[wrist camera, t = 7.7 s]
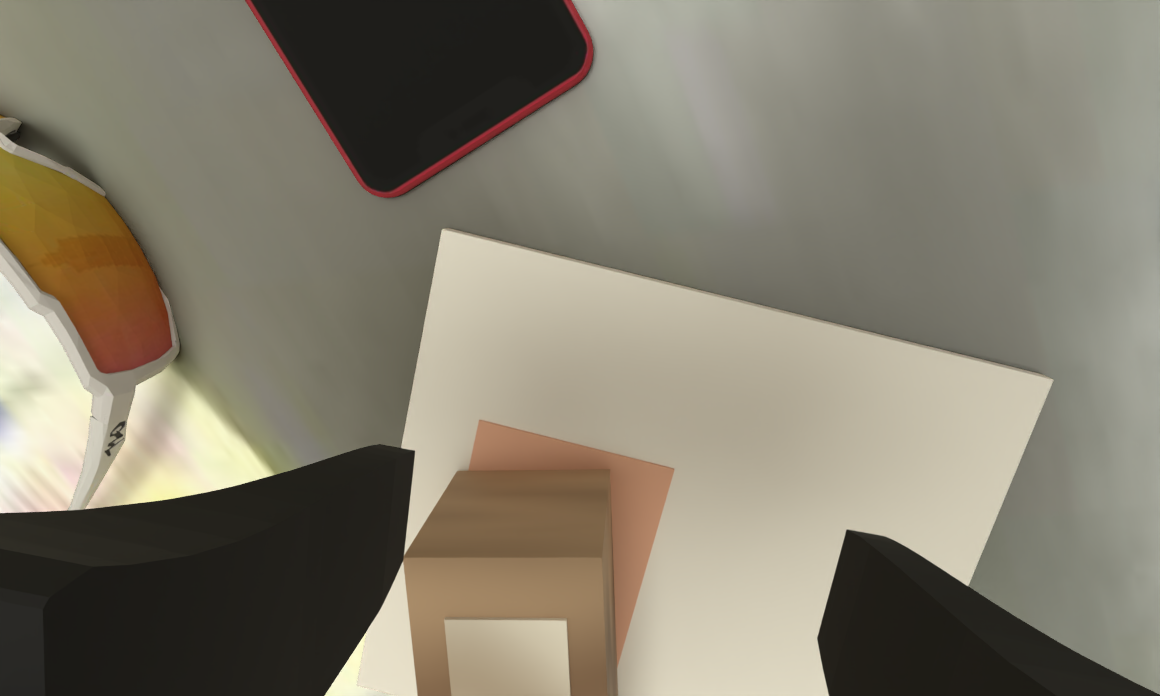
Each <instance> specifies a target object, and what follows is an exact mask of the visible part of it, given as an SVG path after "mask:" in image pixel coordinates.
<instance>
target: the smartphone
mask: <svg viewBox="0 0 1160 696" xmlns="http://www.w3.org/2000/svg"><path fill="white" fill-rule="evenodd" d="M245 1H246V2H247V4H248V6H249V7H250V9H251V11H252V12H253V14H254V15H255V17H256V19H257V20H258V22H259V23H260V25H261V27H262V28H263V30H264V31H265V33H266V35H267V36H268V38H269V39H270V41H271V43H272V44H273V46H274V47H275V49H276V51H277V52H278V54H279V56H280V57H281V59H282V60H283V62H284V64H285V65H286V67H287V68H288V70H289V72H290V73H291V75H292V76H293V78H294V80H295V81H296V83H297V84H298V86H299V88H300V89H301V91H302V92H303V94H304V96H305V97H306V99H307V101H308V102H309V104H310V105H311V107H312V109H313V110H314V112H315V113H316V115H317V117H318V118H319V120H320V121H321V123H322V125H323V126H324V128H325V129H326V131H327V133H328V134H329V136H330V137H331V139H332V141H333V142H334V144H335V146H336V147H337V149H338V150H339V152H340V154H341V155H342V157H343V158H344V160H345V162H346V163H347V165H348V166H349V168H350V170H351V171H352V173H353V174H354V176H355V178H356V179H357V181H358V182H359V183H360V185H361V186H362V187H363V188H364V189H365V190H366V191H368V192H369V193H371V194H373V195H376V196H378V197H384V198H388V197H397V196H400V195H402V194H404V193H406V192H408V191H409V190H411V189H413V188H414V187H416V186H417V185H419V184H420V183H422V182H424V181H425V180H427V179H428V178H430V177H431V176H433V175H435V174H436V173H438V172H439V171H441V170H443V169H444V168H446V167H447V166H449V165H450V164H452V163H454V162H455V161H457V160H458V159H460V158H461V157H463V156H465V155H466V154H468V153H469V152H471V151H472V150H474V149H476V148H477V147H479V146H480V145H482V144H484V143H485V142H487V141H488V140H490V139H491V138H493V137H495V136H496V135H498V134H499V133H501V132H502V131H504V130H506V129H507V128H509V127H510V126H512V125H513V124H515V123H517V122H518V121H520V120H521V119H523V118H524V117H526V116H528V115H529V114H531V113H532V112H534V111H536V110H537V109H539V108H540V107H542V106H543V105H545V104H547V103H548V102H550V101H551V100H553V99H554V98H556V97H558V96H559V95H561V94H562V93H564V92H565V91H567V90H569V89H570V88H572V87H573V86H575V85H576V84H578V83H579V82H580V81H581V80H582V79H583V78H584V77H585V76H586V74H587V73H588V71H589V69H590V67H591V64H592V60H593V44H592V40H591V37H590V35H589V32H588V30H587V28H586V27H585V25H584V23H583V21H582V19H581V18H580V16H579V14H578V12H577V10H576V8H575V7H574V5H573V3H572V1H571V0H245Z"/></svg>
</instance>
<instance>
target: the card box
mask: <svg viewBox="0 0 1160 696" xmlns="http://www.w3.org/2000/svg"><path fill="white" fill-rule="evenodd" d="M403 565H404V574H405V583H406V593H407V602H408V611H409V621H410V630H411V639H412V648H413V658H414V667H415V676H416V686H417V695H418V696H618V678H617V651H616V623H615V595H614V567H613V539H612V511H611V483H610V469H590V470H496V471H457V472H456V473H455V475H454V477H453V478H452V480H451V481H450V483H449V485H448V486H447V488H446V489H445V491H444V493H443V494H442V496H441V497H440V499H439V501H438V502H437V504H436V505H435V507H434V509H433V510H432V512H431V513H430V515H429V516H428V518H427V520H426V521H425V523H424V524H423V526H422V528H421V529H420V531H419V532H418V534H417V536H416V537H415V539H414V540H413V542H412V544H411V545H410V547H409V548H408V550H407V552H406V553H405V555H404V560H403Z"/></svg>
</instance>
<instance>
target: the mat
mask: <svg viewBox="0 0 1160 696" xmlns="http://www.w3.org/2000/svg"><path fill="white" fill-rule="evenodd" d="M1052 382H1053V379H1051V378H1049V377H1047V376H1044V375H1042V374H1039V373H1035V372H1031V371H1027V370H1023V369H1019V368H1015V367H1011V366H1007V365H1003V364H998V363H994V362H990V361H986V360H982V359H978V358H974V357H970V356H966V355H962V354H958V353H954V352H950V351H946V350H942V349H938V348H934V347H929V346H925V345H921V344H917V343H913V342H909V341H905V340H901V339H897V338H893V337H889V336H885V335H881V334H877V333H873V332H869V331H864V330H860V329H856V328H852V327H848V326H844V325H840V324H836V323H832V322H828V321H824V320H820V319H816V318H812V317H808V316H804V315H800V314H795V313H791V312H787V311H783V310H779V309H775V308H771V307H767V306H763V305H759V304H755V303H751V302H747V301H743V300H739V299H735V298H730V297H726V296H722V295H718V294H714V293H710V292H706V291H702V290H698V289H694V288H690V287H686V286H682V285H678V284H674V283H670V282H666V281H661V280H657V279H653V278H649V277H645V276H641V275H637V274H633V273H629V272H625V271H621V270H617V269H613V268H609V267H605V266H601V265H596V264H592V263H588V262H584V261H580V260H576V259H572V258H568V257H564V256H560V255H556V254H552V253H548V252H544V251H540V250H536V249H532V248H527V247H523V246H519V245H515V244H511V243H507V242H503V241H499V240H495V239H491V238H487V237H483V236H479V235H475V234H471V233H467V232H462V231H458V230H454V229H450V228H445V229H442V232H441V238H440V243H439V248H438V254H437V259H436V264H435V270H434V275H433V280H432V286H431V291H430V296H429V302H428V307H427V312H426V318H425V323H424V328H423V334H422V339H421V344H420V350H419V355H418V361H417V366H416V371H415V377H414V382H413V387H412V393H411V398H410V403H409V409H408V414H407V419H406V425H405V430H404V435H403V441H402V446H401V448H403V449H408V450H414V451H415V459H414V468H413V477H412V486H411V495H410V505H409V514H408V523H407V532H406V541H405V551H404V555H405V553H406V552H407V550H408V548H409V547H410V545H411V544H412V542H413V540H414V539H415V537H416V536H417V534H418V532H419V531H420V529H421V528H422V526H423V524H424V523H425V521H426V520H427V518H428V516H429V515H430V513H431V512H432V510H433V509H434V507H435V505H436V504H437V502H438V501H439V499H440V497H441V496H442V494H443V493H444V491H445V489H446V488H447V486H448V485H449V483H450V481H451V480H452V478H453V477H454V475H455V473H456V472H457V471H496V470H590V469H610V483H611V511H612V539H613V567H614V595H615V623H616V651H617V678H618V696H829V694H828V689H827V685H826V681H825V676H824V672H823V667H822V662H821V657H820V651H819V646H818V641H817V637H818V633H819V629H820V626H821V622H822V618H823V614H824V611H825V607H826V603H827V600H828V596H829V592H830V589H831V585H832V581H833V578H834V574H835V570H836V567H837V563H838V559H839V556H840V552H841V548H842V545H843V541H844V537H845V533H846V530H847V529H848V530H854V531H859V532H865V533H870V534H876V535H881V536H885V537H888V538H890V539H892V540H895V541H896V542H898V543H900V544H902V545H904V546H906V547H907V548H909V549H911V550H912V551H914V552H916V553H917V554H919V555H921V556H922V557H924V558H925V559H927V560H928V561H930V562H932V563H933V564H935V565H936V566H938V567H939V568H941V569H942V570H944V571H945V572H947V573H948V574H950V575H951V576H953V577H955V578H956V579H958V580H959V581H961V582H962V583H964V584H965V585H967V586H968V585H969V583H970V581H971V578H972V576H973V573H974V571H975V568H976V566H977V564H978V561H979V559H980V556H981V554H982V552H983V549H984V547H985V544H986V542H987V539H988V537H989V535H990V532H991V530H992V527H993V525H994V523H995V520H996V518H997V515H998V513H999V510H1000V508H1001V506H1002V503H1003V501H1004V498H1005V496H1006V494H1007V491H1008V489H1009V486H1010V484H1011V482H1012V479H1013V477H1014V474H1015V472H1016V469H1017V467H1018V465H1019V462H1020V460H1021V457H1022V455H1023V453H1024V450H1025V448H1026V445H1027V443H1028V440H1029V438H1030V436H1031V433H1032V431H1033V428H1034V426H1035V424H1036V421H1037V419H1038V416H1039V414H1040V411H1041V409H1042V407H1043V404H1044V402H1045V399H1046V397H1047V395H1048V392H1049V390H1050V387H1051V385H1052ZM357 686H360V687H363V688H367V689H371V690H375V691H379V692H383V693H386V694H390V695H394V696H418V695H417V686H416V676H415V667H414V658H413V648H412V639H411V630H410V621H409V611H408V602H407V593H406V583H405V574H404V565H403V562H402V564H401V567H400V569H399V571H398V573H397V576H396V578H395V580H394V582H393V584H392V587H391V589H390V591H389V593H388V595H387V597H386V599H385V601H384V603H383V605H382V607H381V609H380V611H379V612H378V614H377V616H376V617H375V619H374V620H373V622H372V624H371V625H370V627H369V628H368V630H367V633H366V638H365V643H364V649H363V654H362V659H361V665H360V670H359V675H358V681H357Z"/></svg>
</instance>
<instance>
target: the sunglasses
mask: <svg viewBox="0 0 1160 696" xmlns="http://www.w3.org/2000/svg"><path fill="white" fill-rule="evenodd" d="M20 125H21V121H19V120H17V119H15V118H9V117H8V118H5V117H3V116H1V115H0V272H1V273H2V274H3V275H4V276H5V278H6V279H7V280H8V281H9V282H10V284H11V285H12V286H13V287H14V289H15V290H16V291H17V293H18V294H19V296H20V297H21V298H22V300H23V301H24V302H25V304H26V305H27V307H28V308H29V309H30V310H32V311H34V312H36V313H38V314H40V315H42V316H44V318H45V319H46V321H47V322H48V324H49V326H50V327H51V329H52V330H53V332H54V334H55V335H56V337H57V338H58V340H59V341H60V343H61V345H62V346H63V348H64V350H65V352H66V354H67V356H68V358H69V360H70V362H71V364H72V366H73V368H74V370H75V372H76V373H77V375H78V377H79V379H80V381H81V383H82V385H83V387H84V389H86V390H87V391H89V392H90V393H92V394H93V398H92V409H91V413H92V416H90V426H89V437H88V442H87V447H86V452H85V458H84V463H83V468H82V472H81V475H80V478H79V481H78V484H77V487H76V490H75V493H74V496H73V499H72V502H71V505H70V507H69V508H68V510H83V509H85V508H86V506H87V505H88V503H89V501H90V500H91V498H92V496H93V495H94V493H95V491H96V490H97V488H98V486H99V484H100V483H101V481H102V479H103V478H104V476H105V474H106V473H107V471H108V469H109V467H110V466H111V464H112V462H113V460H114V459H115V457H116V455H117V454H118V452H119V450H120V448H121V447H122V445H123V443H124V441H125V435H126V425H127V419H128V415H129V412H130V408H131V404H132V401H133V397H134V393H135V387H136V385H138V384H140V383H141V382H143V381H145V380H147V379H149V378H151V377H153V376H154V375H156V374H158V373H160V372H162V371H163V370H164V369H165V368H166V367H167V366H168V365H169V364H170V363H171V362H172V361H173V360H174V359H175V358H176V356H177V354H178V353H179V348H180V342H179V337H178V333H177V328H176V325H175V321H174V318H173V314H172V311H171V307H170V304H169V300H168V299H167V297H166V296H165V294H164V293H163V291H162V290H161V289H160V287H159V285H158V282H157V280H156V277H155V275H154V273H153V271H152V269H151V267H150V265H149V264H148V262H147V260H146V258H145V256H144V254H143V252H142V250H141V248H140V246H139V245H138V243H137V241H136V240H135V238H134V237H133V235H132V234H131V232H130V230H129V229H128V227H127V226H126V224H125V223H124V221H123V220H122V219H121V217H120V216H119V215H118V214H117V212H116V211H115V210H114V208H113V207H112V206H111V204H110V203H109V202H108V201H107V199H106V198H105V195H106V192H105V191H104V190H103V189H102V188H101V187H100V186H98V185H97V184H95V183H94V182H92V181H90V180H89V179H87V178H86V177H84V176H82V175H81V174H79V173H78V172H76V171H75V170H73V169H71V168H70V167H64V166H62V165H61V164H59V163H57V162H55V161H53V160H51V159H49V158H47V157H45V156H43V155H40V154H38V153H36V152H33V151H31V150H28V149H26V148H23V147H21V146H18V145H16V144H15V143H13V142H15V141H16V140H17V139H18V138H19V136H20V133H19V132H16V131H17V130H18V128H19V127H20ZM68 510H67V511H68Z"/></svg>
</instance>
